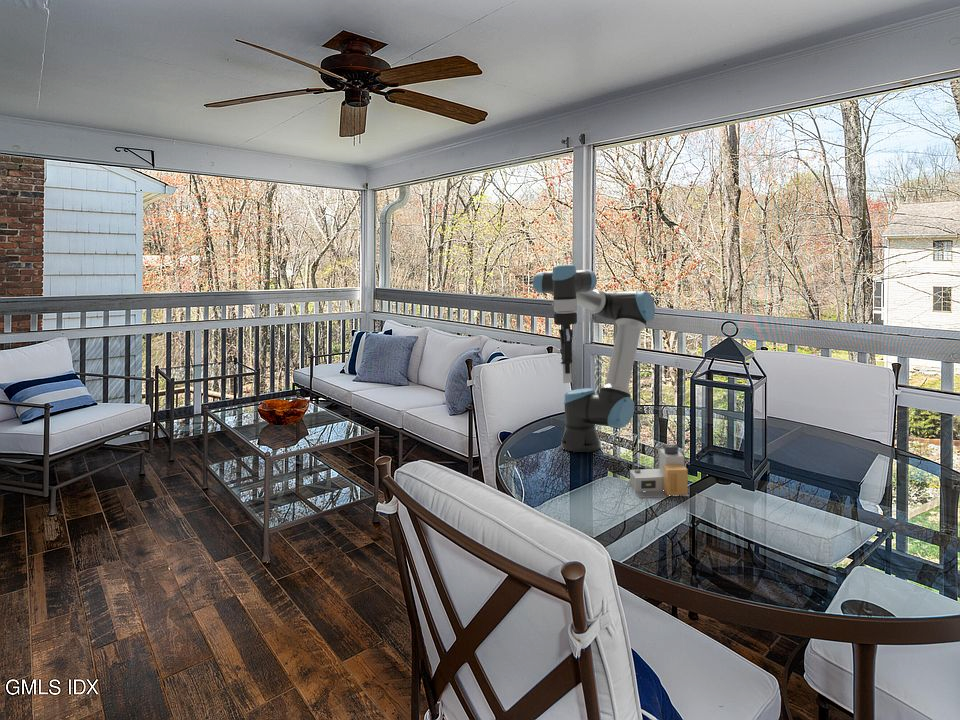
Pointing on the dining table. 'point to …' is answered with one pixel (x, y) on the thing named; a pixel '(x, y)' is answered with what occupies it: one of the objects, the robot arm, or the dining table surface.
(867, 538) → the dining table surface
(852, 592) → the dining table surface
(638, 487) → the white small appliance
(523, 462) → the dining table surface
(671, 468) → the orange wooden block
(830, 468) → the dining table surface
